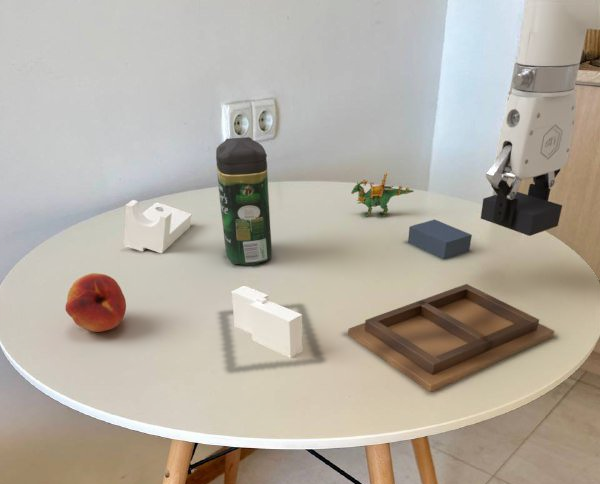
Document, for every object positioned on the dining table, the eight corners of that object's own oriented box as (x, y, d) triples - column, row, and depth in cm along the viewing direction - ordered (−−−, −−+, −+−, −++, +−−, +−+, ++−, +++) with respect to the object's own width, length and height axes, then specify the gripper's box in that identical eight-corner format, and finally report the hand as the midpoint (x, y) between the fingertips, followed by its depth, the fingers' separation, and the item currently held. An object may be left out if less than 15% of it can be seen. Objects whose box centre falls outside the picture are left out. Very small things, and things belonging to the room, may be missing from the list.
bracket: (161, 258, 104) (165, 218, 99) (123, 245, 104) (125, 204, 99) (189, 231, 114) (194, 193, 109) (155, 219, 114) (158, 181, 109)
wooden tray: (347, 335, 80) (348, 318, 78) (464, 292, 89) (466, 277, 88) (430, 392, 69) (432, 375, 68) (552, 337, 79) (557, 320, 77)
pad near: (480, 218, 88) (483, 198, 86) (508, 209, 90) (511, 189, 88) (529, 236, 81) (533, 214, 80) (558, 226, 84) (562, 205, 82)
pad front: (407, 242, 105) (409, 226, 103) (432, 235, 108) (434, 219, 106) (443, 259, 99) (446, 242, 97) (469, 251, 102) (472, 234, 100)
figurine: (350, 212, 118) (351, 170, 113) (410, 212, 117) (415, 170, 112) (350, 218, 115) (352, 175, 110) (412, 218, 115) (416, 175, 110)
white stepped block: (320, 360, 75) (321, 320, 71) (231, 370, 73) (227, 330, 70) (299, 305, 87) (298, 269, 83) (221, 313, 85) (217, 277, 82)
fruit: (69, 346, 79) (53, 291, 74) (75, 317, 85) (61, 265, 80) (130, 339, 80) (118, 285, 75) (131, 311, 86) (121, 260, 81)
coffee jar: (223, 246, 105) (212, 135, 94) (267, 243, 106) (262, 132, 95) (227, 269, 97) (216, 150, 86) (275, 265, 98) (269, 147, 87)
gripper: (522, 92, 69) (497, 241, 79) (613, 73, 76) (579, 212, 87) (473, 84, 74) (456, 225, 84) (563, 68, 81) (537, 200, 92)
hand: (519, 218), depth 85 cm, fingers closed on pad near, 6 cm apart
